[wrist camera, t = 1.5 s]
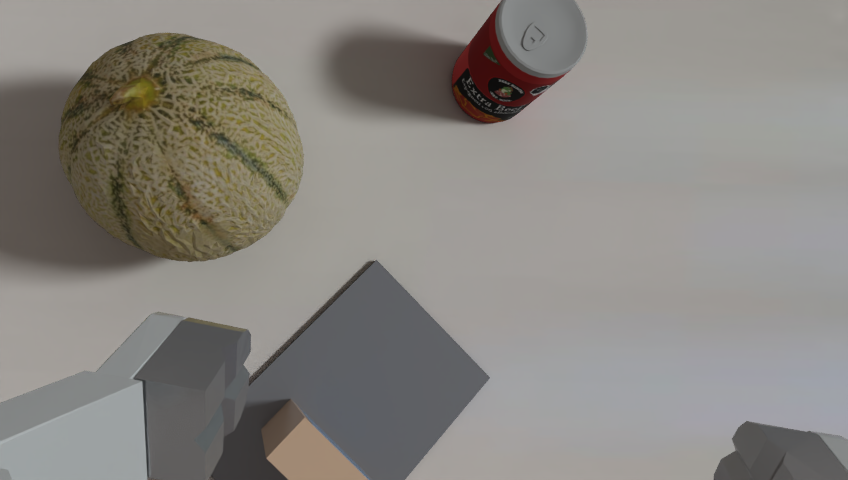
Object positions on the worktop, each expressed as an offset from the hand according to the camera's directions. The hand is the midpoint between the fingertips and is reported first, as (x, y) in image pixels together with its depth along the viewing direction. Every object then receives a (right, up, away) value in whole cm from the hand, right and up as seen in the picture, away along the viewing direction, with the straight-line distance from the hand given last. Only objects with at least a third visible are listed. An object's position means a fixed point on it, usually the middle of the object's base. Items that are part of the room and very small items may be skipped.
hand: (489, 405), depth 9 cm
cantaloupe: (-19, +7, +35) cm, 41 cm away
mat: (-7, -11, +36) cm, 38 cm away
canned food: (+5, +17, +45) cm, 48 cm away
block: (-10, -13, +34) cm, 38 cm away
